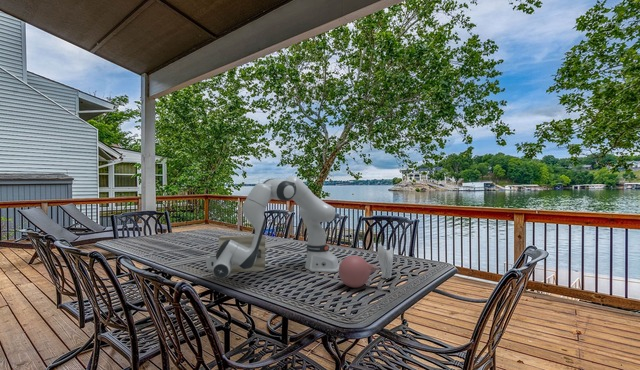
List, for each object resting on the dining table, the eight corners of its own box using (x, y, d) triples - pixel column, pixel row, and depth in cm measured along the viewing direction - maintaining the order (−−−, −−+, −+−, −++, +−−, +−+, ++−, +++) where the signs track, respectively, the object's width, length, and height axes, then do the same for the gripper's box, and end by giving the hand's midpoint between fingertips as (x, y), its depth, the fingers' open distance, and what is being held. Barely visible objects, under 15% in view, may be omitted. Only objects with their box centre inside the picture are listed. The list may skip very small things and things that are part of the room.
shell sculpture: (395, 276, 167) (395, 244, 167) (392, 281, 159) (392, 246, 159) (380, 274, 170) (380, 242, 170) (376, 279, 163) (376, 245, 163)
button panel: (221, 266, 185) (221, 234, 185) (264, 264, 190) (264, 232, 190) (218, 272, 172) (218, 237, 172) (265, 270, 177) (265, 236, 177)
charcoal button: (252, 257, 177) (252, 249, 177) (260, 256, 178) (260, 249, 178) (252, 258, 173) (252, 251, 173) (260, 258, 174) (260, 250, 174)
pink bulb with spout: (380, 293, 141) (380, 260, 141) (337, 291, 144) (337, 258, 144) (378, 283, 156) (378, 253, 156) (339, 281, 159) (340, 251, 159)
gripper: (245, 255, 158) (246, 250, 172) (204, 257, 154) (208, 251, 168) (245, 267, 158) (246, 261, 172) (204, 270, 154) (208, 263, 168)
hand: (227, 256), depth 170 cm, fingers closed
